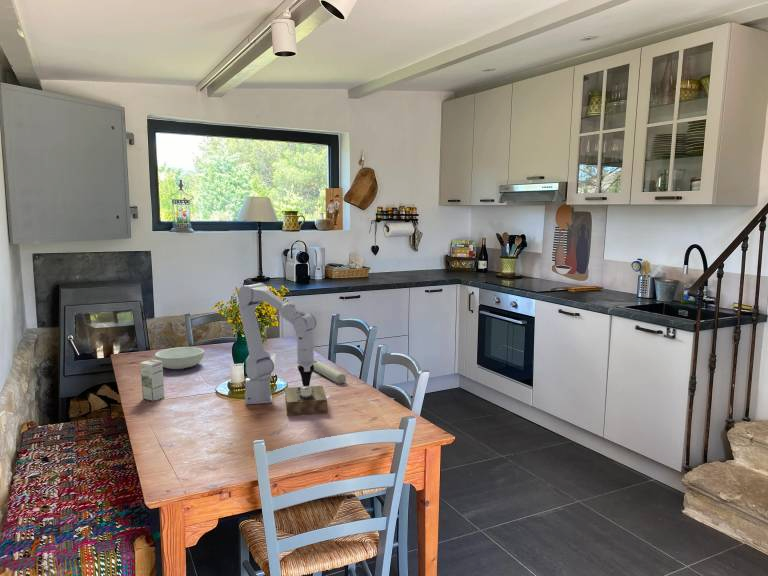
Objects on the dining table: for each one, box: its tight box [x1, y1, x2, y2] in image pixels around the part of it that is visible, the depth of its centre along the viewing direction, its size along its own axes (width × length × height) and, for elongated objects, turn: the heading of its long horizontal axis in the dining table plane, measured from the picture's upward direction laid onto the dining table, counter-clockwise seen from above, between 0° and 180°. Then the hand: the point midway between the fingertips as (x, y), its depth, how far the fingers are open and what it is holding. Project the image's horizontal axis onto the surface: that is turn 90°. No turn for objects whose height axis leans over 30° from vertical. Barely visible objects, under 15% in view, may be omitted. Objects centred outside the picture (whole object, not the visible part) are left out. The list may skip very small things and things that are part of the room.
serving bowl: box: [154, 346, 205, 370], centre depth 262 cm, size 21×21×7 cm
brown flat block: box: [284, 385, 328, 417], centre depth 211 cm, size 14×16×5 cm
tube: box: [313, 358, 347, 385], centre depth 248 cm, size 5×5×25 cm
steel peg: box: [300, 385, 312, 399], centre depth 207 cm, size 4×4×5 cm
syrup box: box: [139, 358, 165, 402], centre depth 219 cm, size 6×6×14 cm
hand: (306, 385), depth 206 cm, fingers closed
